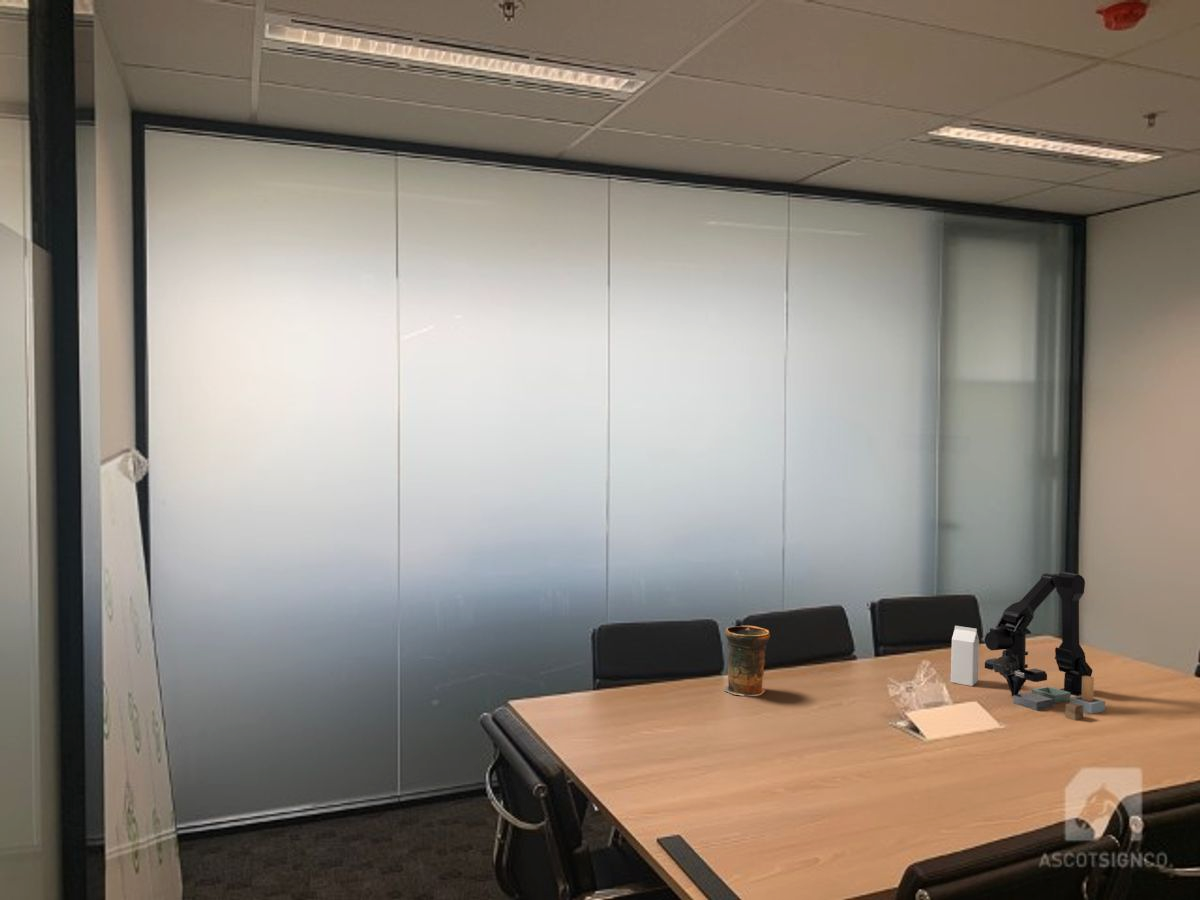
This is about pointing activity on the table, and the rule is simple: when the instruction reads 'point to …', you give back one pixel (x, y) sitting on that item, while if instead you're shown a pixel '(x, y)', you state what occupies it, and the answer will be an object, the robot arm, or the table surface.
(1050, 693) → the tray
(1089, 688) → the dowel
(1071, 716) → the block
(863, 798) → the table surface
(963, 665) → the milk carton
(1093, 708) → the socket block
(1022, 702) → the grey slab
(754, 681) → the vessel
